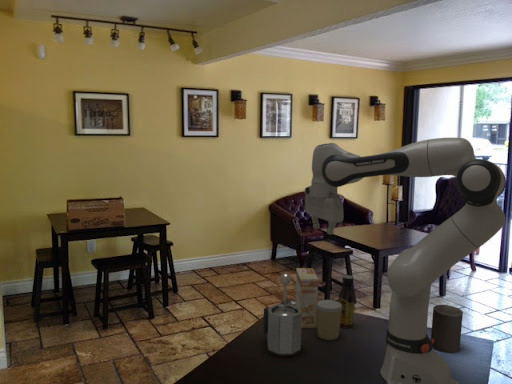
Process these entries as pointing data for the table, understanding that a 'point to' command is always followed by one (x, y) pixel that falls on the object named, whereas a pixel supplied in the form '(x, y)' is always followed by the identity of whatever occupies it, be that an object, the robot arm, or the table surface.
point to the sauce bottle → (347, 302)
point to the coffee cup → (328, 319)
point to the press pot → (283, 331)
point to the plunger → (285, 280)
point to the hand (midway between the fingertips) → (323, 231)
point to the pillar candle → (446, 328)
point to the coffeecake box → (307, 296)
